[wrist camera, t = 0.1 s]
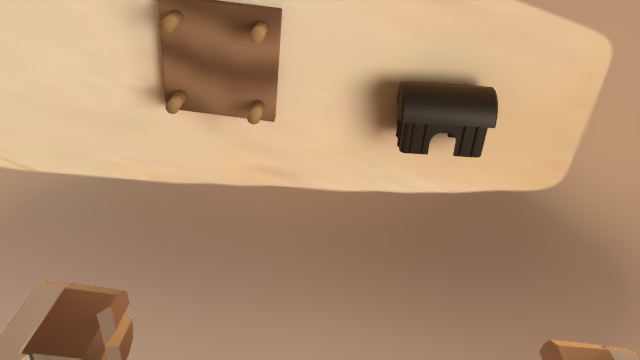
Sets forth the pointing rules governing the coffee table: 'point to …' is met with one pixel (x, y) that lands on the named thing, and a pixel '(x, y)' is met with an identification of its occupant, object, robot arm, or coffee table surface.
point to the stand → (220, 57)
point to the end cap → (445, 116)
